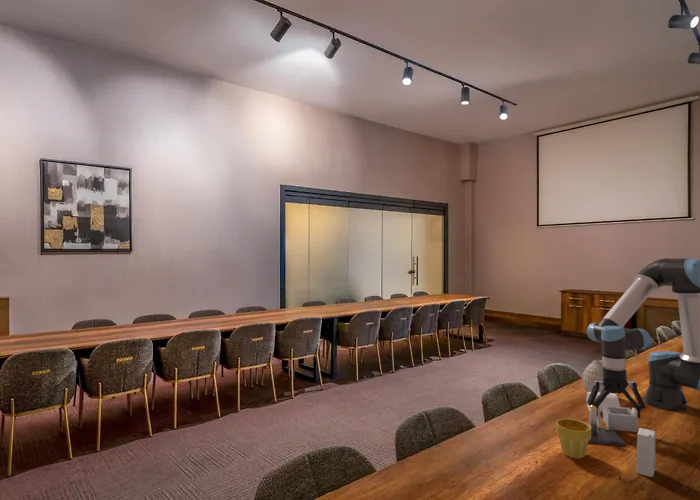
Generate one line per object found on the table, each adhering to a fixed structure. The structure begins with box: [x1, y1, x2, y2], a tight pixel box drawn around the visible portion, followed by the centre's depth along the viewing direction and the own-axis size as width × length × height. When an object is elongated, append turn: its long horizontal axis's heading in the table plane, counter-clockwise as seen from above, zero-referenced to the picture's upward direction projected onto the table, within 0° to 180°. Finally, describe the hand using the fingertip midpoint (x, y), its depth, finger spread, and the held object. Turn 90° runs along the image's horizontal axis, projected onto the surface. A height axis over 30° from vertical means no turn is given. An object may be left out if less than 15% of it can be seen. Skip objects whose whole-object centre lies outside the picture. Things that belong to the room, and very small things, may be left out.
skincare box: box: [635, 427, 656, 478], centre depth 127 cm, size 6×4×12 cm
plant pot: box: [555, 418, 591, 459], centre depth 139 cm, size 10×10×10 cm
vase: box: [582, 359, 604, 393], centre depth 194 cm, size 13×13×17 cm
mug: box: [586, 392, 621, 414], centre depth 178 cm, size 12×10×8 cm
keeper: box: [588, 405, 626, 447], centre depth 152 cm, size 16×12×11 cm
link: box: [602, 406, 638, 433], centre depth 157 cm, size 9×9×6 cm
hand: (616, 425), depth 157 cm, fingers open, 12 cm apart
